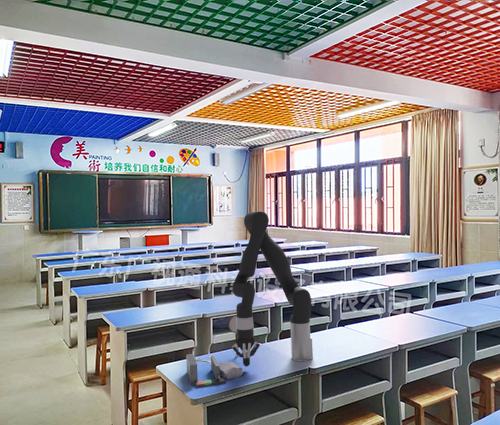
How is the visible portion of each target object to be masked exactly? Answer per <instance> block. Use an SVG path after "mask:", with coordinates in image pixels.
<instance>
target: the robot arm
mask: <svg viewBox="0 0 500 425" xmlns="http://www.w3.org/2000/svg"><path fill="white" fill-rule="evenodd" d="M269 222H270V220H269V215H268V214H267V213H266V212H265V211H263V210H256V211H252V212H249V213H247V214H246V215H244V219H243V224H244V227H245V229H246V230H247V231H248V233H249V234H250V235H249V236H250V237H249V240H248V243H247V245H246V247H245V249H244V251H243V253H242V257H241V260H240V265H239V271H238V273H237V274H236V277H235V279H234V281H233V284H232V293H233V296H235V297H237V298H241V302H239V303H237V304H236V315H237V320H236V326H237V341H236V340H235V344H233V345H231V349H232V350H233V351H234V352H235V354H236V353H237V354H238V356H237V357H239V358H240V359H241V358H242V365H243V366H244V367H246V368H247V367H249V365H251V357H254V355H255V354H256V353H257V351H258V349H259V348H260V346H261V345H260V343H259V342H256V339H255V335H254V334H255V332H254V331H255V330H254V318H253V304H254V300H255V296H256V295H255V294H256V289H255V286H254V284H253V283H251V282H248V280H249V279H250V278H253V277H254V276H255V273H256V268H257V262H258V258H259V253H260V252H261V253H262V255H263V257H264V260H265V261H266V262H267V265H268V266H269V268H270V270H271V272H272V273H273V275H274V276H275V278H276V280H277V281H278V282H279V284H280V286H281V289H282V291H283V294H284V295H285V297H286V298H285V299H286V300H287V301H288V304H290V305H292V309H293V311H292V314H290V316H289V320H290V323H289V324H290V346H291V359H292V360H293V361H298V362H305V361H309V360H312V359H314V356H313V352H314V350H313V338H312V336H311V319H310V318H311V316H312V297H311V294H310V292H309V291H308V289H305V288H302V287H300V285H299V284H298V283H297V281H296V280H295V278H294V276H293V273H292V268H291V263H290V261H289V259H288V257H287V255H286V253H285V251H284V250H283V249H282V247H281V246H280V245H279V244H278V243H277V242H276V241H275V240H273V238H271V236H270V235H269V234H268V232H267V230H268V226H269V224H270V223H269ZM237 346H238V347H237ZM237 349H238V350H237ZM239 349H240V350H241V352H240V351H239ZM237 354H236V355H237Z"/></svg>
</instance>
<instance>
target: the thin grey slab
mask: <svg viewBox="0 0 500 425" xmlns="http://www.w3.org/2000/svg"><path fill="white" fill-rule="evenodd" d="M210 356H211V355H210ZM210 360H211V364H210V367H211V368H210V369H211V371H212V373H213V375H214V377H215V379H219V380H221V378H222V377H221V376H220V369H219V364H218V363H219V361H218V360H217V359H216V356H211V358H210Z"/></svg>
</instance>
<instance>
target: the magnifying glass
mask: <svg viewBox="0 0 500 425" xmlns="http://www.w3.org/2000/svg"><path fill="white" fill-rule="evenodd" d="M236 320H237V314H233V316H231V317H230V318H229V320H228V322H227V327H228V330H229V331H230V332H231V333H233V334H235V342H236V341H237V326H236ZM237 347H238V349H237V350H238V351H239V346H237ZM235 355H236V356H237V357H239V356H238V354H237V353H236V352H235Z"/></svg>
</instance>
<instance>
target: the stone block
mask: <svg viewBox="0 0 500 425" xmlns="http://www.w3.org/2000/svg"><path fill="white" fill-rule="evenodd" d="M218 364H219V369H220V377H221V378H224V379H225V380H231V379H234V378H238V377H239V378H240V377H241V376H242V374H243V368H242V366H239V365H238V364H237V363H236V362H234V361H227V360H226V361H221V362H218Z"/></svg>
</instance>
